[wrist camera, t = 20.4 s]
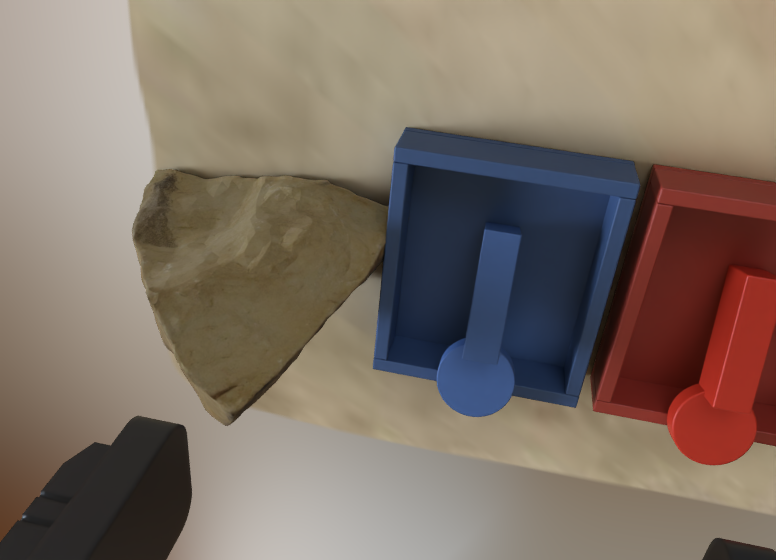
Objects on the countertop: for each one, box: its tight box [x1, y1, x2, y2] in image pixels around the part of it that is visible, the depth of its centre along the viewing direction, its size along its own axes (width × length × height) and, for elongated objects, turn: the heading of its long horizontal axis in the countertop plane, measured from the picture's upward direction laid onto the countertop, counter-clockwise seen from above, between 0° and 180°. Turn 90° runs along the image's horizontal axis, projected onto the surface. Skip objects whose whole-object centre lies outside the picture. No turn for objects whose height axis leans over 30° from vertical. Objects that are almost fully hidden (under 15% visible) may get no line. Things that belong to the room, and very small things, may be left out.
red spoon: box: [667, 265, 776, 465], centre depth 28 cm, size 8×3×2 cm, turn 174°
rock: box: [132, 169, 409, 426], centre depth 28 cm, size 11×9×10 cm
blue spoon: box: [437, 222, 522, 417], centre depth 29 cm, size 8×3×2 cm, turn 174°
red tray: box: [590, 164, 776, 446], centre depth 28 cm, size 10×9×2 cm
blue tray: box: [373, 127, 640, 408], centre depth 29 cm, size 10×9×2 cm
